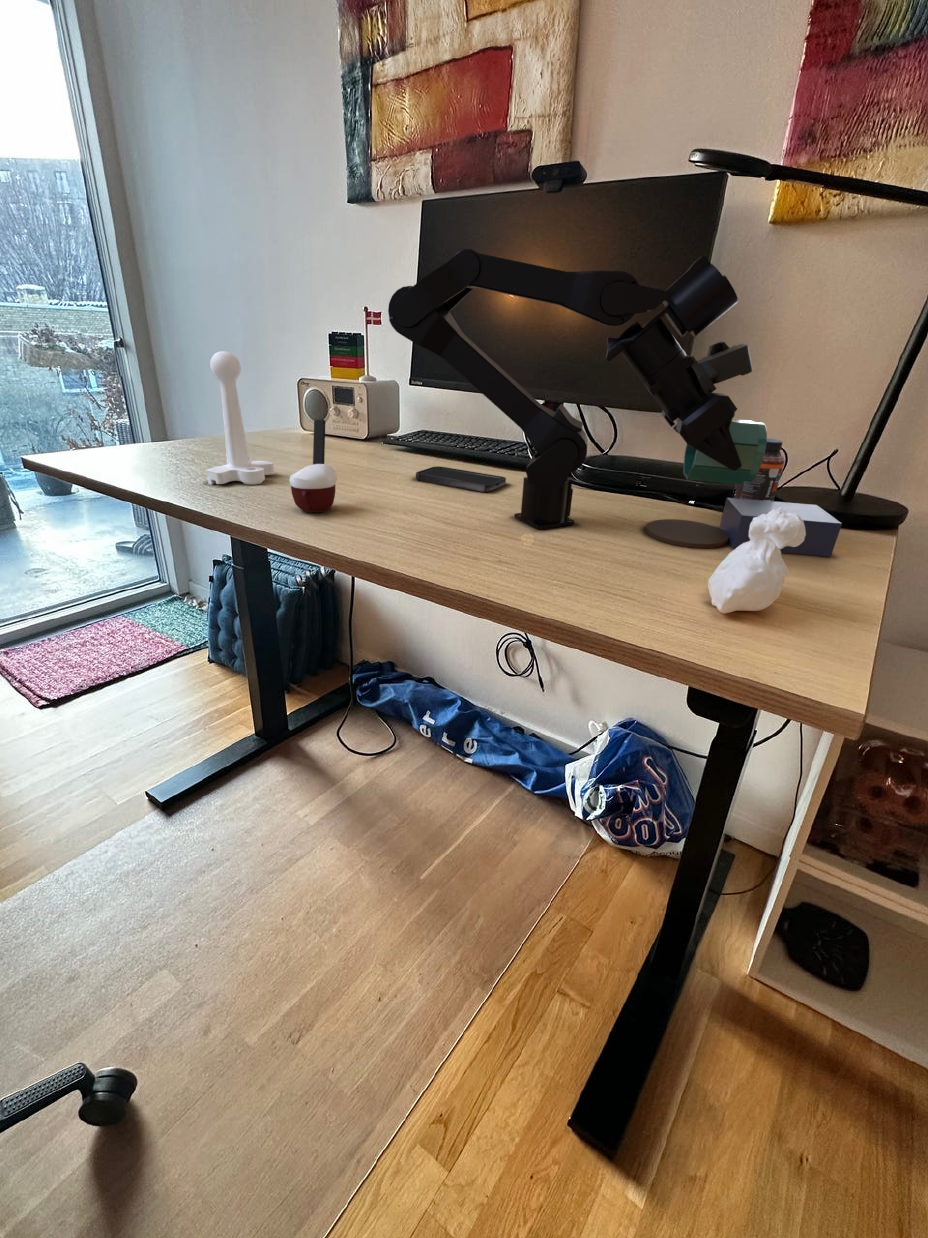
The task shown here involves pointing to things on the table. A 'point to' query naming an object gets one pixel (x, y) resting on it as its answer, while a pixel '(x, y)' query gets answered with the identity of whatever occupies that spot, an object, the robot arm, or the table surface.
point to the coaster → (687, 533)
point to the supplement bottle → (764, 475)
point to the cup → (749, 450)
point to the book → (815, 519)
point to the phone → (461, 478)
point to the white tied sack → (756, 564)
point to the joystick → (234, 429)
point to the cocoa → (315, 478)
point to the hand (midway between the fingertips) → (731, 462)
